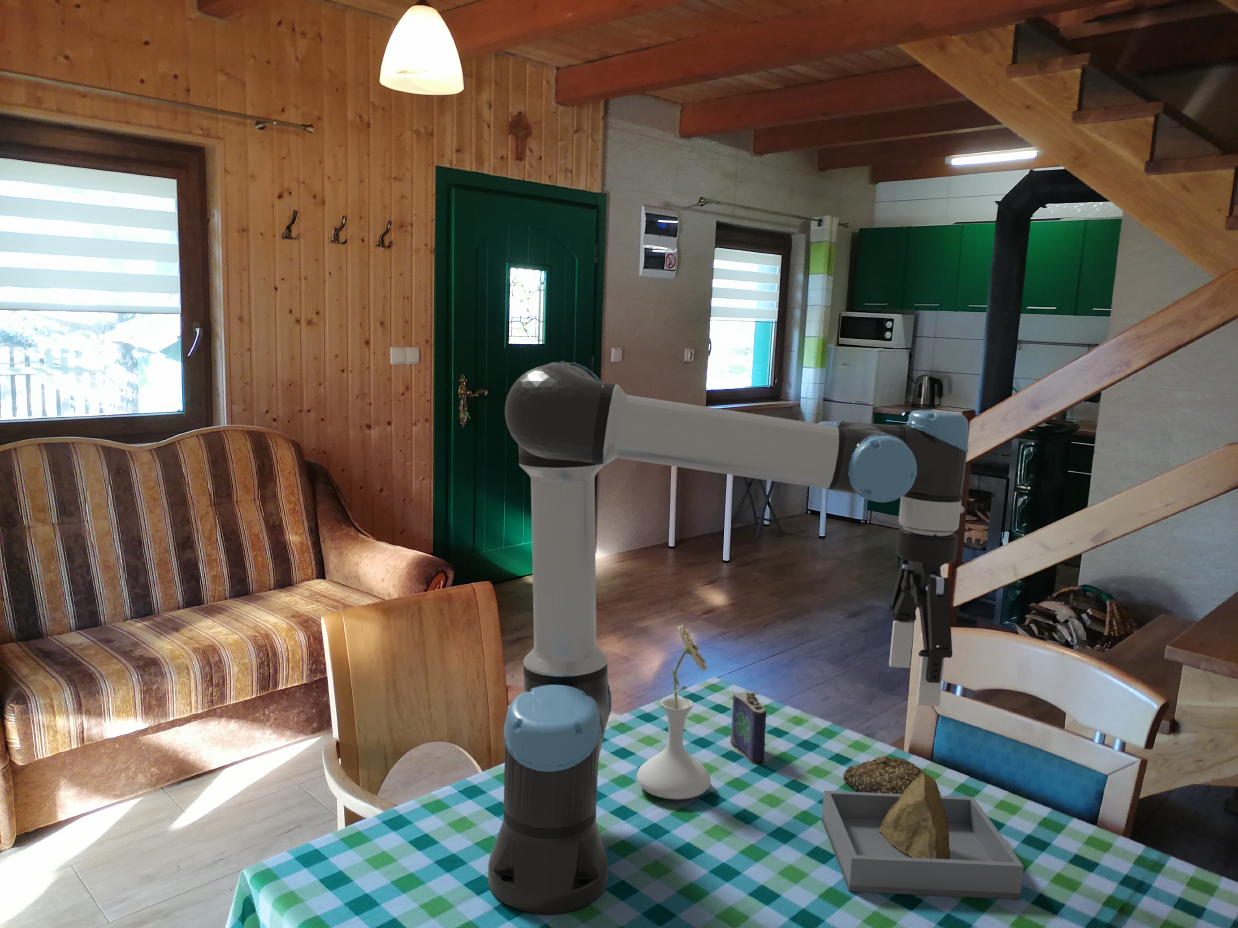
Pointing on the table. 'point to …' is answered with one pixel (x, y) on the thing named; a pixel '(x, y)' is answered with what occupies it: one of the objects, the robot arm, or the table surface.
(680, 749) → the flower in vase
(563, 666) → the robot arm
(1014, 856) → the bin
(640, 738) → the table surface
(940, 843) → the rock
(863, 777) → the bread roll
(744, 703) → the flask
